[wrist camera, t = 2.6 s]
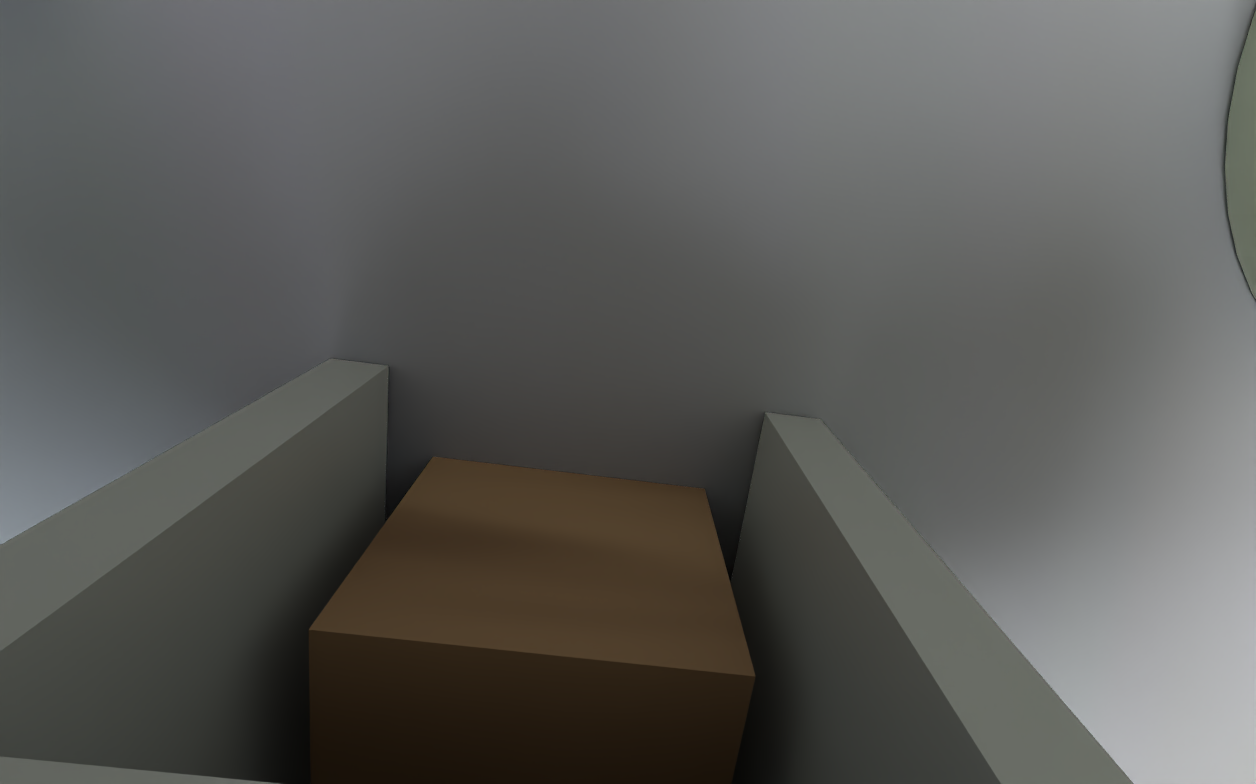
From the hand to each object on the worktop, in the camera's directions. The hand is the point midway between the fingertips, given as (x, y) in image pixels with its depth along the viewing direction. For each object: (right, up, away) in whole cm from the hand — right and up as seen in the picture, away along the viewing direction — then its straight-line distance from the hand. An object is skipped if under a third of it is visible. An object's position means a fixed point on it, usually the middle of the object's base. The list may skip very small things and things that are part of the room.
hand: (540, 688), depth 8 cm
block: (0, +1, +2) cm, 2 cm away
